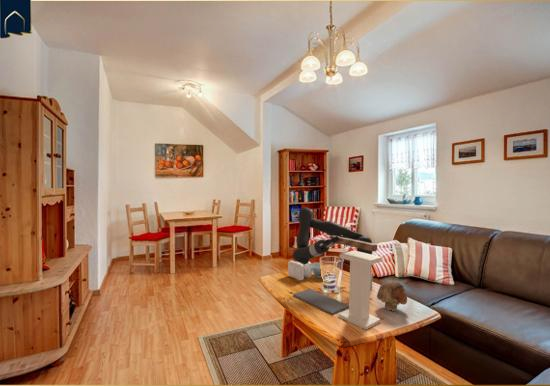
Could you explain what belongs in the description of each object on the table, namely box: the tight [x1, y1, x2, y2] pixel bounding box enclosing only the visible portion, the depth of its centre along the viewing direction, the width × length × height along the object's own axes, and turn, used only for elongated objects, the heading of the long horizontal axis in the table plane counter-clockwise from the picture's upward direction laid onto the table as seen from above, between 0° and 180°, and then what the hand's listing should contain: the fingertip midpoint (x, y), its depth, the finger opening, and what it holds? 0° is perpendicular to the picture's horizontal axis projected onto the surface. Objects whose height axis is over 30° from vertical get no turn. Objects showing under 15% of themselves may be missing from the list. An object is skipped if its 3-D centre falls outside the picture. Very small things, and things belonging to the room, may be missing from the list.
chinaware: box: [311, 262, 321, 278], centre depth 202 cm, size 15×15×8 cm
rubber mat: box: [292, 288, 349, 316], centre depth 159 cm, size 30×14×1 cm, turn 38°
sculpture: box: [376, 280, 408, 312], centre depth 150 cm, size 15×16×15 cm
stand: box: [337, 250, 383, 330], centre depth 138 cm, size 16×12×32 cm
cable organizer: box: [287, 260, 312, 281], centre depth 198 cm, size 15×11×12 cm
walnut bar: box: [329, 235, 378, 253], centre depth 142 cm, size 26×3×3 cm, turn 38°
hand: (340, 237), depth 147 cm, fingers closed on walnut bar, 3 cm apart
